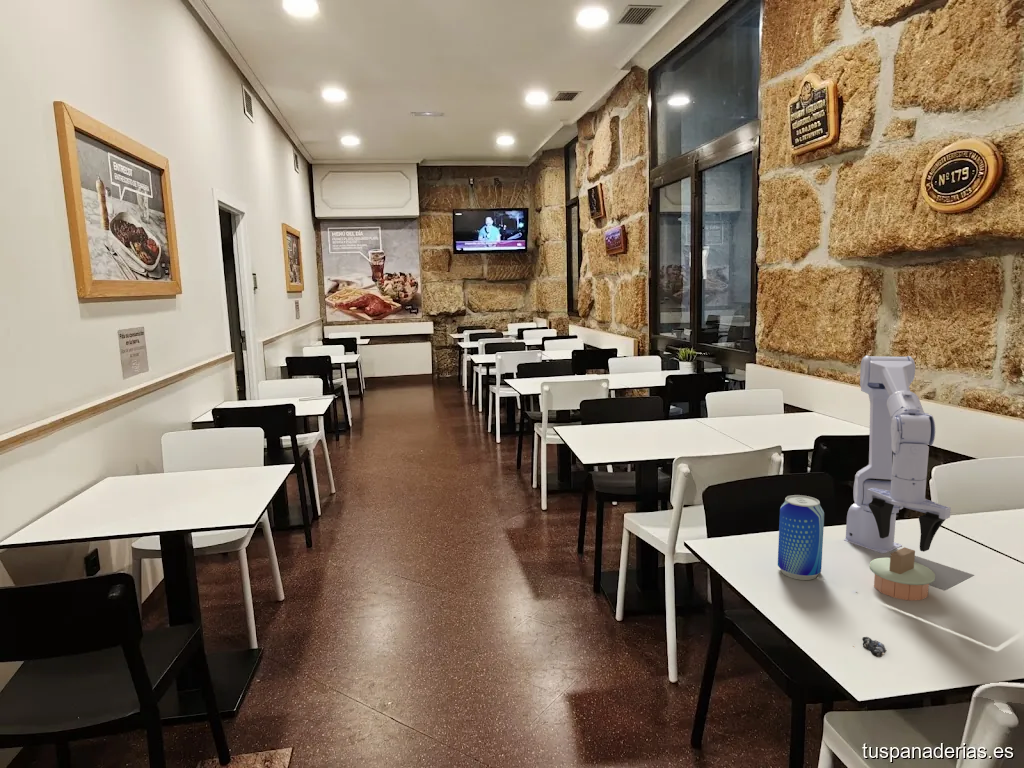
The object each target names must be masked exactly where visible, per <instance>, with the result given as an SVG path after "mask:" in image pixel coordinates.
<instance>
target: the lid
mask: <svg viewBox="0 0 1024 768" xmlns="http://www.w3.org/2000/svg"><path fill="white" fill-rule="evenodd" d="M915 556H916V550H915V549H911V548H908V547H905V546H904V547H902V548H898V549H897V550H895V551H893V552H890V556H889V557H879V558H878V557H877V558H874V559H872V560H870V562H869V570H870V571H871V572H872V573H873V574H874V575H875V574H876V575H878V576H880V577H882V578H884V579H887V580H890V581H893V582H897V583H902V584H908V585H926V584H930V583H932V582H933V581H934V580H935V574H934V572H933V571H932V570H931V569H929V568H928V567H926V566H924V565H921V564H919V563H916V562H914V559H915Z"/></svg>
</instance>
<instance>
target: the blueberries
mask: <svg viewBox="0 0 1024 768" xmlns="http://www.w3.org/2000/svg"><path fill="white" fill-rule="evenodd" d="M862 642H863V643H862V645H863V646H862V648H864V649H865V650H867V651H868V652H870V653H871V655H872V656H873V657H876V658H882V657H883V656H884V655H885V654H886V652H888V651H887V648H886V647H885V645H884V644H883V643H882V642H880V641H879V640H877V639H875V640H873V639H872V638H871V637H869V636H863V637H862ZM852 647H853V648H856V646H855V645H852Z"/></svg>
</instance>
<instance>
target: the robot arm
mask: <svg viewBox="0 0 1024 768" xmlns="http://www.w3.org/2000/svg"><path fill="white" fill-rule="evenodd" d="M859 370H860V371H859V372H860V373H859V374H860V376H859V386H860V390H861V392H863V393H865V394H868V398H869V399H868V400H869V446H868V447H869V451H868V464H867V465H866V466H864V467H862V468H861V469H859V470H858V471H857V472H856V474H855V475H854V483H853V488H852V489H853V492H852V493H853V501H854V503H853V504H851V505H850V507H849V508H848V511H847V515H846V527H845V538H843V541H845V542H847V543H851V544H853V545H857V546H859V547H861V548H862V547H863V548H866V549H868V550H872V551H873V552H877V553H880V554H886V553H889V552H891V551H894V550H896V549H900V548H901V547H902V546H903V544H901V543H897V542H895V535H896V534H895V533H896V521H897V520H896V519H897V514H899V513H900V512H899V511H900V510H902V509H904V508H906V509H909V510H913V511H916V512H920V513H923V515H920V516H918V521H919V527H920V528H919V529H920V539H919V551H921V552H927V551H929V550H930V547H931V545H932V543H933V539H934V538H935V535H936V533H937V531H938V530H939V529H940V528H941V526H942V524H943V523H944V522H945V521H946V520H947V519H949V518H951V511H952V510H951V507H949V506H947V505H943V504H941V503H938V502H935V501H933V500H929V499H927V498H926V489H927V479H928V477H927V476H928V465H929V464H928V463H929V454H930V453H929V451H930V446H933V444H934V441H935V439H936V423H935V419H934V416H933V415H932V414H929V413H928V412H925V410H924V408H923V405H922V403H921V400H920V398H919V396H918V395H917V393H915V392H913V391H911V388H910V385H911V384H912V383H913V382H914V380H915V375H916V364H915V360H914V358H913V357H912V356H910V355H907V356H888V355H887V356H883V355H882V356H880V355H879V356H878V355H877V356H876V355H873V356H872V355H871V356H870V355H865V356H863V357H862V358H861V362H860V368H859ZM928 445H929V446H928ZM875 479H876V480H875Z"/></svg>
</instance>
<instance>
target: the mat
mask: <svg viewBox="0 0 1024 768" xmlns="http://www.w3.org/2000/svg"><path fill="white" fill-rule="evenodd" d="M914 562H916V563H919V564H921V565H924V566H926V567H928V568H929V569H931V570H932V571H933V572H934V574H935V580H934V581H933V582H932V583H930V584H929V586H931V587H934V588H936V589H939V590H942V591H947V590H948V589H951V588H952V587H954V586H956V585H958V584H960V583H962V582H964V581H966V580H967V579H970V578H972V577H974V576H975V574H972V573H968V572H967V571H964V570H960V569H957V568H954V567H950V566H948V565H945V564H942V563H939V562H935V561H933V560H930V559H926V558H924V557H921V556H917V555H915V559H914Z"/></svg>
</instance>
